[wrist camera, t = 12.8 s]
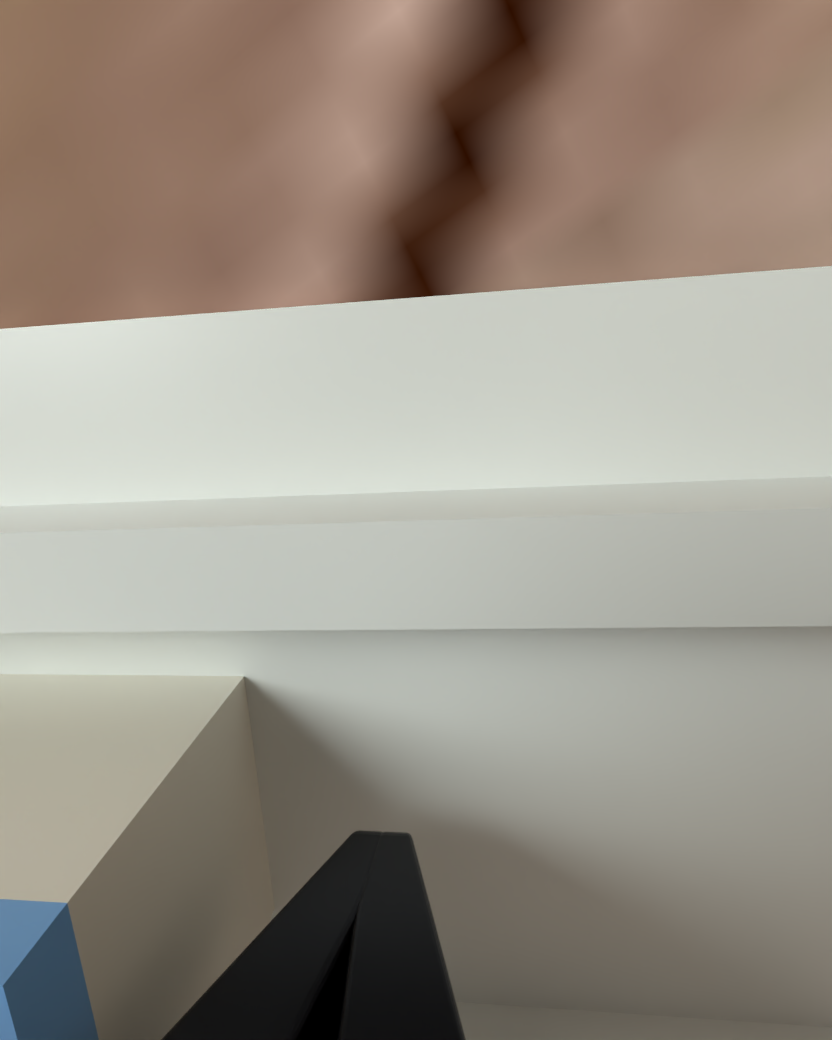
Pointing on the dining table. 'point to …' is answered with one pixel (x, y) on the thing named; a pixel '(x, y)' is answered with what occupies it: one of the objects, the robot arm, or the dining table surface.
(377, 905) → the robot arm
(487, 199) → the dining table surface
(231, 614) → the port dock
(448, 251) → the dining table surface
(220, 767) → the plug
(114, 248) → the dining table surface
